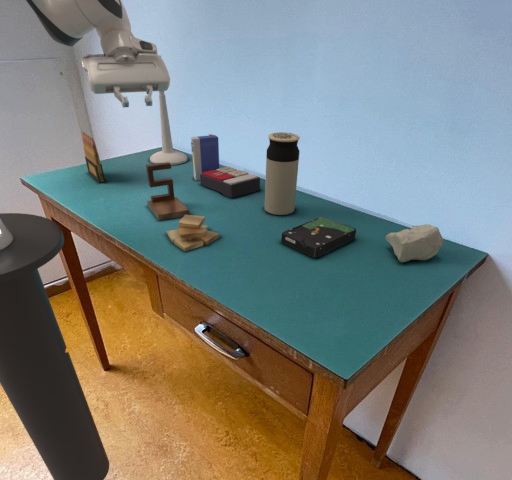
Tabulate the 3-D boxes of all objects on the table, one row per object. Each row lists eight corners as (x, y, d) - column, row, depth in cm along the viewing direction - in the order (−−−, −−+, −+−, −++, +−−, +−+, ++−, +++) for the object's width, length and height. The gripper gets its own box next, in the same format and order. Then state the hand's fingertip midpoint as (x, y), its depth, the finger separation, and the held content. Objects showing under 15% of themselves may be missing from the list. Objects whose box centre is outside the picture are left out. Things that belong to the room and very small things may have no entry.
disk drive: (315, 260, 85) (355, 239, 93) (316, 248, 83) (357, 228, 91) (280, 243, 90) (320, 225, 98) (280, 232, 89) (322, 214, 97)
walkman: (216, 175, 126) (214, 133, 119) (219, 177, 125) (218, 135, 117) (193, 177, 124) (189, 135, 116) (195, 180, 122) (192, 137, 114)
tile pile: (185, 252, 86) (183, 235, 83) (161, 235, 92) (159, 218, 89) (224, 239, 91) (223, 223, 88) (199, 224, 97) (198, 208, 95)
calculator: (227, 165, 123) (260, 174, 114) (228, 179, 125) (260, 190, 116) (198, 171, 117) (231, 182, 108) (200, 186, 119) (231, 198, 111)
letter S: (158, 220, 98) (152, 177, 91) (148, 206, 105) (141, 165, 98) (189, 215, 101) (185, 172, 94) (177, 202, 108) (172, 161, 101)
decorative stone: (409, 232, 93) (442, 208, 84) (422, 268, 91) (457, 247, 82) (372, 235, 89) (402, 210, 80) (386, 273, 87) (418, 251, 78)
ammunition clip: (88, 173, 125) (78, 131, 117) (94, 172, 125) (84, 130, 118) (99, 183, 118) (89, 139, 110) (105, 182, 119) (96, 138, 111)
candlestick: (193, 157, 141) (186, 53, 122) (175, 167, 132) (164, 56, 112) (162, 152, 144) (150, 51, 125) (142, 162, 135) (126, 53, 116)
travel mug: (268, 216, 102) (271, 140, 90) (261, 205, 108) (263, 132, 96) (297, 215, 103) (305, 139, 92) (289, 203, 109) (295, 131, 98)
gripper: (78, 44, 95) (95, 98, 94) (161, 44, 102) (177, 94, 102) (80, 65, 101) (96, 116, 100) (159, 63, 108) (174, 110, 108)
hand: (137, 105), depth 101 cm, fingers open, 5 cm apart
